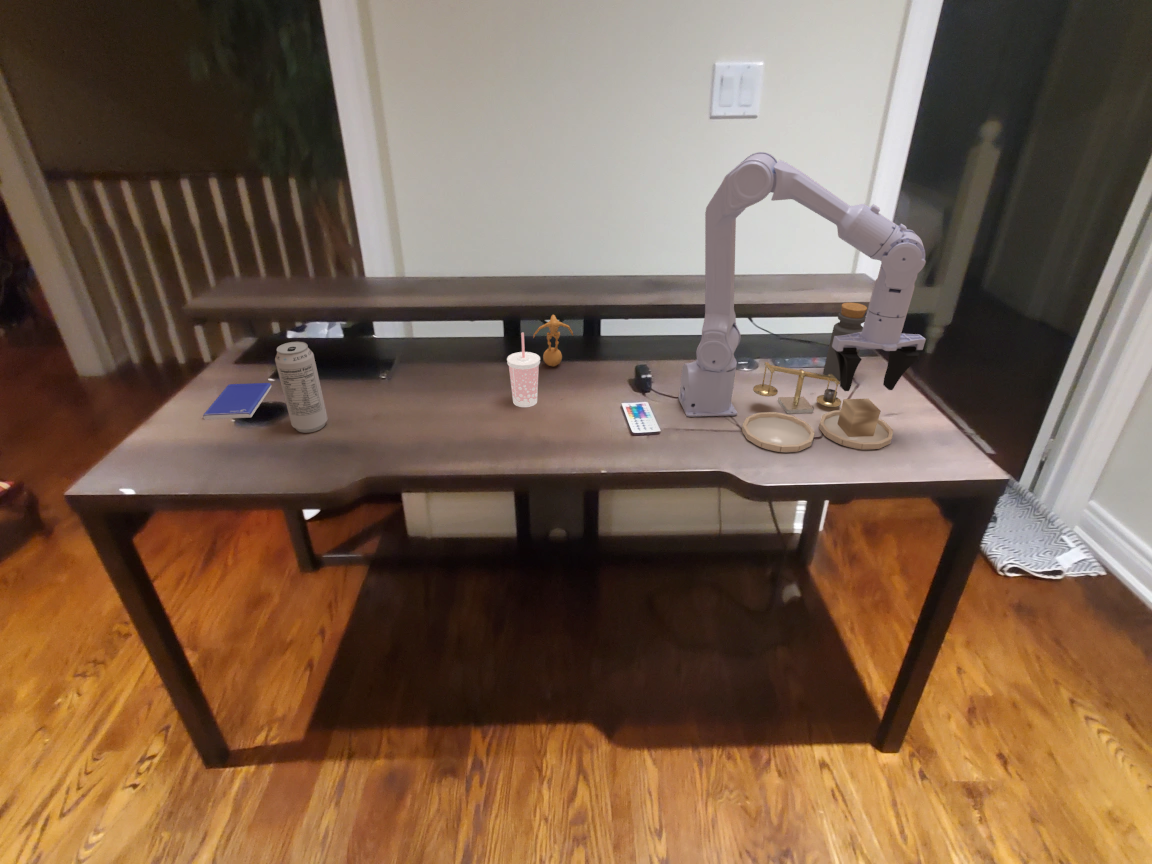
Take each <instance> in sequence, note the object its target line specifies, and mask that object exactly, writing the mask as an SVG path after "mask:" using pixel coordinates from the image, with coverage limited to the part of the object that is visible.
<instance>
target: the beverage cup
mask: <svg viewBox="0 0 1152 864" xmlns="http://www.w3.org/2000/svg"><path fill="white" fill-rule="evenodd" d="M520 335H521V336H520V337H521V351H519V352H514V353H511V354H509V355H508V356H507V357H506V361H507V362H506V364H507V365H508V370H509V379H510V387H511V397H512V402H513V404H514V405H515V406H516V407H519V408H529V407H533V406H535V405H537V403H538V394H539V393H538V391H539V390H538V388H539V372H540V371H539V367H540V364H541V356H540V355H539V354H537V353H534V352H531V351H526V350H525V348H526V347H525V332H521V333H520Z"/></svg>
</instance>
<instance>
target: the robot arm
mask: <svg viewBox="0 0 1152 864" xmlns="http://www.w3.org/2000/svg"><path fill="white" fill-rule="evenodd" d="M771 193H773V194H772V195H771V196H772V197H771V201H782V200H784V201H785V200H792V201H795V202H797V203H798V204H800V205H801V206H804V207H806V208H807V209H809V210H810V211H812V212H814V213H815V214H817V215H818V216H821V217H822V218H824V219H826V220H827V221H829V222H830V223H832V224H834V225H836V229H837V237H838V238H839V239H841V240H842V241H844V242H845V243H847V244H848V245H849V246H851V247H853V248H854V249H856V250H858V251H859V252H861V253H862V254H864V255H865V256H867V257H868V258H870V259H871V260H876V261H877V260H878V261H880V262H881V264H880V267H879V271H878V275H877V278H876V279H875V281H874V284H873V288H872V292H871V296H870V299H869V303H868V306H867V310H866V313H865V314H866V315H865V316H866V318H865V322H864V323H863V326H862V327H863V330H862V332H858V333H853V334H848V335H842V336H834V340H833V344H832V347H833V348H834V349H835V352H836V355H837V359H838V363H839V369H840V381H839V382H840V384H839V387H840V388H841V389H842V390H843V391H844V392H849V391H850V390H851V387H852V385H853V380H854V376H855V373H856V371H857V369H858V366H859V364H860V363H861V362H862V358H861V357H860V355H857V354H858V352H856V350H857V349H860V350H883V351H885V352H888V361H887V367H886V370H885V374H884V378H883V386H884V387H885V388H886V389H887V390H888V391H894V389H895V386H896V385H897V383H898V382H899V380H900V379H901V378H902V376H903V375H904V373H905V372H906V371H907V370H909V368H910V367H911V366H912V365H914V363H916V362H917V361H918V360H919V358H920V357H919V356H920V353H919V352H918V351H923V349H924V346H925V343H926V340H927V338H925V337H924V336H922V335H921V334H918V333H917V334H916V333H915V334H913V333H904V332H903V333H902V331H903V330H904V329H903V328H904V325H905V321H906V318H907V315H908V311H909V309H910V305H911V301H912V298H913V295H914V291H915V286H916V285H915V283H916V281H917V279H918V274H919V273H920V272H921V271H922V270H923V268H925V265H926V263H927V261H926V249H925V246H924V244H923V241H922V239H921V237H920V236H919V235H917V234H916V232H915V231H914V230H912V229H907V226H906V225H904V224H903V223H900V224H899V225H898V224H897V223H895V222H893V221H892V220H890V219H888V218H887V217H886V216H884V215H883V214H881V213H879V212H880V211H881V209H880V207H879V206H877V205H876V204H874V203H873V204H871V205H870V206H869V205H867V204H865V203H859V204H854V205H849V204H848V203H847V202H845V201H844V200H843V199H841V198H840V197H838V196H837V195H835V194H834V193H832V191H830V190H828V189H827V188H825V187H824V186H823V185H821V184H820V183H818V182H817V181H815V180H814V179H812V178H811V177H810V176H808V175H807V174H806V173H804V172H803V171H802V170H800V169H798V168H797V167H795V166H793V165H791V163H788V162H787V161H784V160H782V159H779V160H777V159H776V157H775V156H773V155H772V154H770V153H769V152H765V151H758V152H754V153H752V154H750V155H749V156H747V157H746V158H744V160H742V161H741V162H740V163H739V164H738V165H736V166H735V167H734V168H733V169H732V170H730V171H729V172H728V173H727V174H726V175H725V176H724V178H723V179H722V182H721V184H720V185H719V187H718V188H717V189H716V191H715V193H714V194H713V196H712V198H711V199H710V201H709V203H708V204H707V206H706V208H705V213H704V215H705V216H704V218H705V219H704V220H705V223H704V226H705V227H704V229H705V230H704V231H705V232H704V233H705V235H704V236H705V238H704V239H705V243H704V244H705V246H704V247H705V249H704V252H705V254H704V256H705V260H704V261H705V262H704V263H705V266H704V267H705V269H704V270H705V271H704V276H705V277H704V278H705V280H704V281H705V282H704V283H705V287H704V288H705V289H704V292H705V293H704V303H705V304H704V306H705V307H704V313H705V314H704V317H703V318H704V319H703V323H702V328H701V339H700V342H699V344H698V346H697V348H696V352H695V355H696V360H694V361H691V362H686V363H683V365H682V369H681V376H680V387H679V395H678V396H677V397H678V398H677V399H678V400H679V403H680V404H681V406H682V408H683V411H684V413H685V416H686V417H689V418H691V417H692V418H693V417H716V416H718V417H720V416H722V417H723V416H729V417H730V416H737V415H738V411H737V410H736V408H735V406H734V404H733V403H732V398H733V391H734V387H735V379H736V372H737V365H738V362H737V359H736V358H735V352H736V349H737V348H738V347H739V345H740V343H741V338H742V336H741V331H740V329H739V327H738V325H737V322H736V321H737V319H736V318H737V315H736V312H735V307H734V306H735V277H736V276H735V274H736V273H735V271H736V270H735V269H736V268H735V267H736V232H737V231H736V227H737V225H736V223H737V218H738V217H740V215H741V214H742V213H743V212H744V211H745V210H746V209H747V208H748V207H751V206H753V205H755V204H757V203H759V202H762V201H763V200H765V198H766V197H767V196H768V195H769V194H771Z"/></svg>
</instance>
